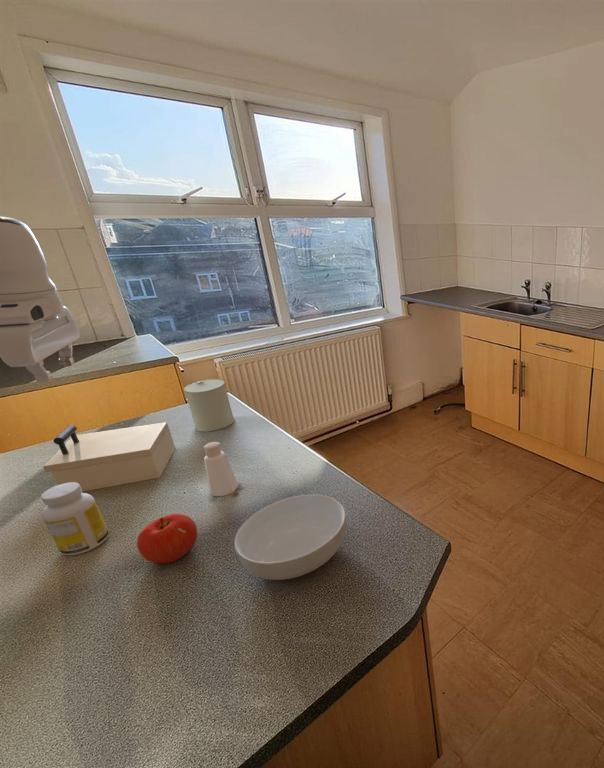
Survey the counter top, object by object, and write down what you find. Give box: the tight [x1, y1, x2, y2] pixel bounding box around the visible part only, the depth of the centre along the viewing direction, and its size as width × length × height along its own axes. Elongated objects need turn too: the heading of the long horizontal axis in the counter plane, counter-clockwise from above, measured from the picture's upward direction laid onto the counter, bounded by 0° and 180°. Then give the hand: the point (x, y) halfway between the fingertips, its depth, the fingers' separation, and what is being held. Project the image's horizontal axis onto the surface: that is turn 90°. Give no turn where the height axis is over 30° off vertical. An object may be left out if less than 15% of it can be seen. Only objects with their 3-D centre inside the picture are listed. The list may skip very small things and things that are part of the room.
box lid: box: [42, 421, 169, 473], centre depth 94 cm, size 17×14×6 cm
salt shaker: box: [203, 441, 240, 497], centre depth 90 cm, size 5×5×11 cm
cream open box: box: [51, 427, 176, 493], centre depth 97 cm, size 17×14×6 cm
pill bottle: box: [40, 482, 110, 556], centre depth 75 cm, size 6×6×12 cm
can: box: [183, 378, 235, 433], centre depth 116 cm, size 9×9×12 cm
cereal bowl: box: [234, 494, 348, 581], centre depth 74 cm, size 17×17×7 cm
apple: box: [136, 513, 198, 564], centre depth 73 cm, size 8×8×8 cm
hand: (57, 373), depth 87 cm, fingers open, 8 cm apart
